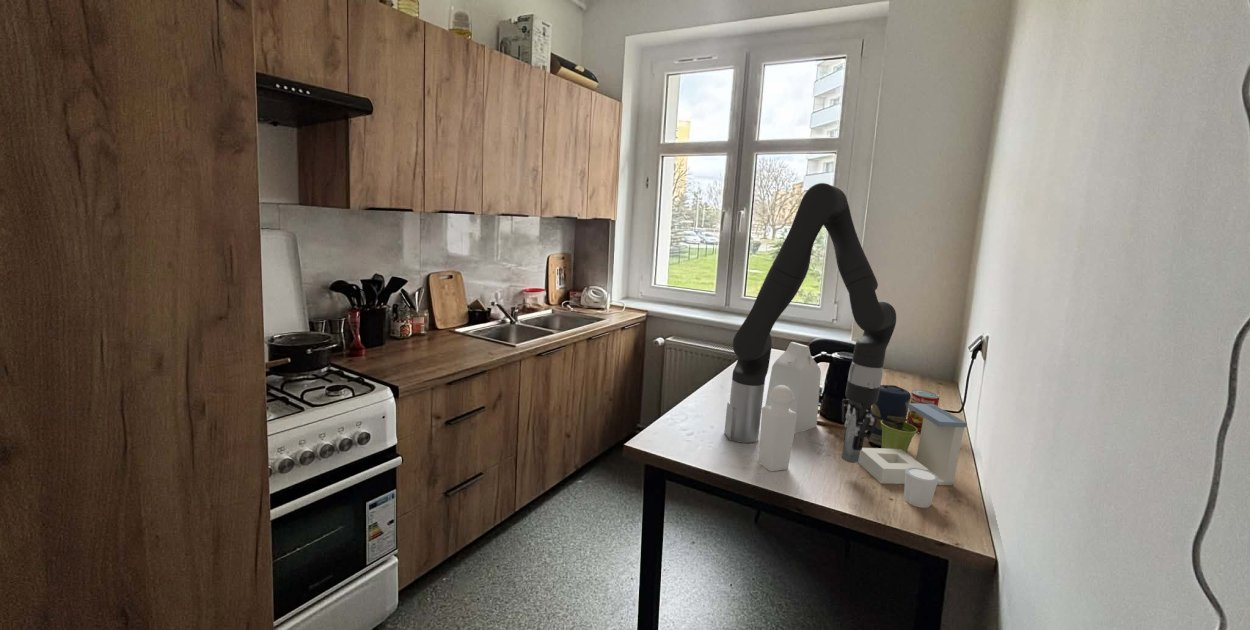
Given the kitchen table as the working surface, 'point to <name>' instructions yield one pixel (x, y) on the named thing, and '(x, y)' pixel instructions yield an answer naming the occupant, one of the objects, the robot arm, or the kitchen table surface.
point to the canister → (889, 410)
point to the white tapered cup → (919, 487)
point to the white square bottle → (777, 430)
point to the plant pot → (897, 436)
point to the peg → (850, 442)
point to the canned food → (920, 398)
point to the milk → (798, 383)
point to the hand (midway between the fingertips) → (852, 445)
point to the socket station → (920, 449)
